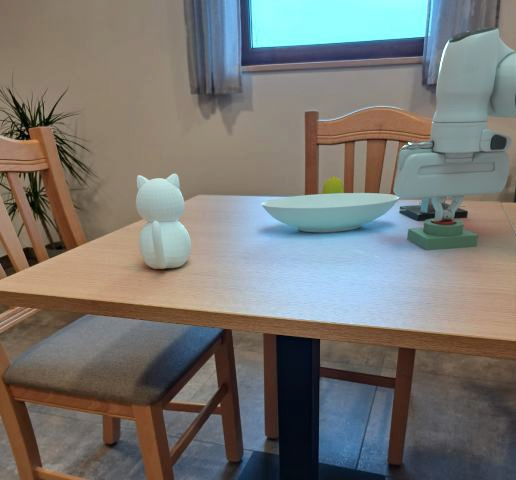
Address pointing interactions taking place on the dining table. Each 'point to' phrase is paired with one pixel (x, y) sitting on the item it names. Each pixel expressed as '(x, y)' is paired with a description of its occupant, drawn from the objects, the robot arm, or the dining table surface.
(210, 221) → the dining table surface
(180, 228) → the cat figurine
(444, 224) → the button
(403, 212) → the plate
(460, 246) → the green base
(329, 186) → the lemon
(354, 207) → the bowl
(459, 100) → the robot arm
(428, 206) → the blue card stand
